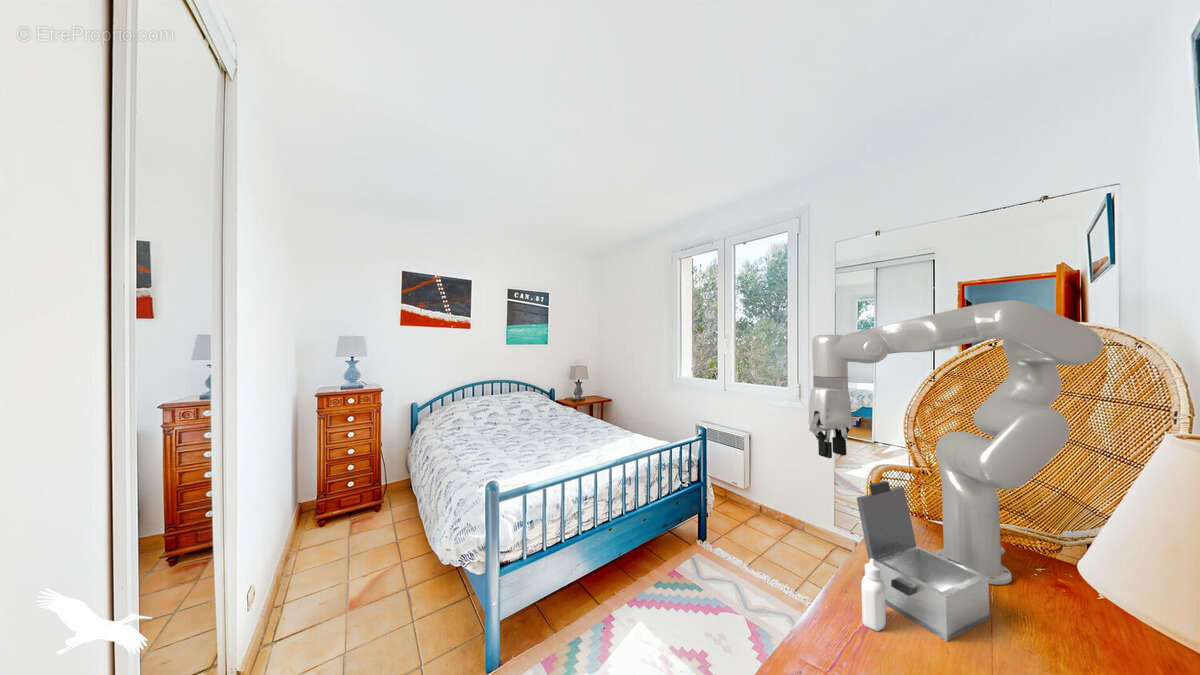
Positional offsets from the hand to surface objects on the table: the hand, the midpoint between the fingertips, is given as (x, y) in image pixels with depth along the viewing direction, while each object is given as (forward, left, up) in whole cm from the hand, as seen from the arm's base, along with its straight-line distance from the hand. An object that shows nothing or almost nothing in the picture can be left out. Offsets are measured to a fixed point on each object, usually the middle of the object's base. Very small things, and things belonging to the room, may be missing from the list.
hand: (832, 454), depth 93 cm
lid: (0, +13, -10) cm, 16 cm away
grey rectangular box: (0, +20, -25) cm, 32 cm away
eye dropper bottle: (+14, +18, -26) cm, 34 cm away
